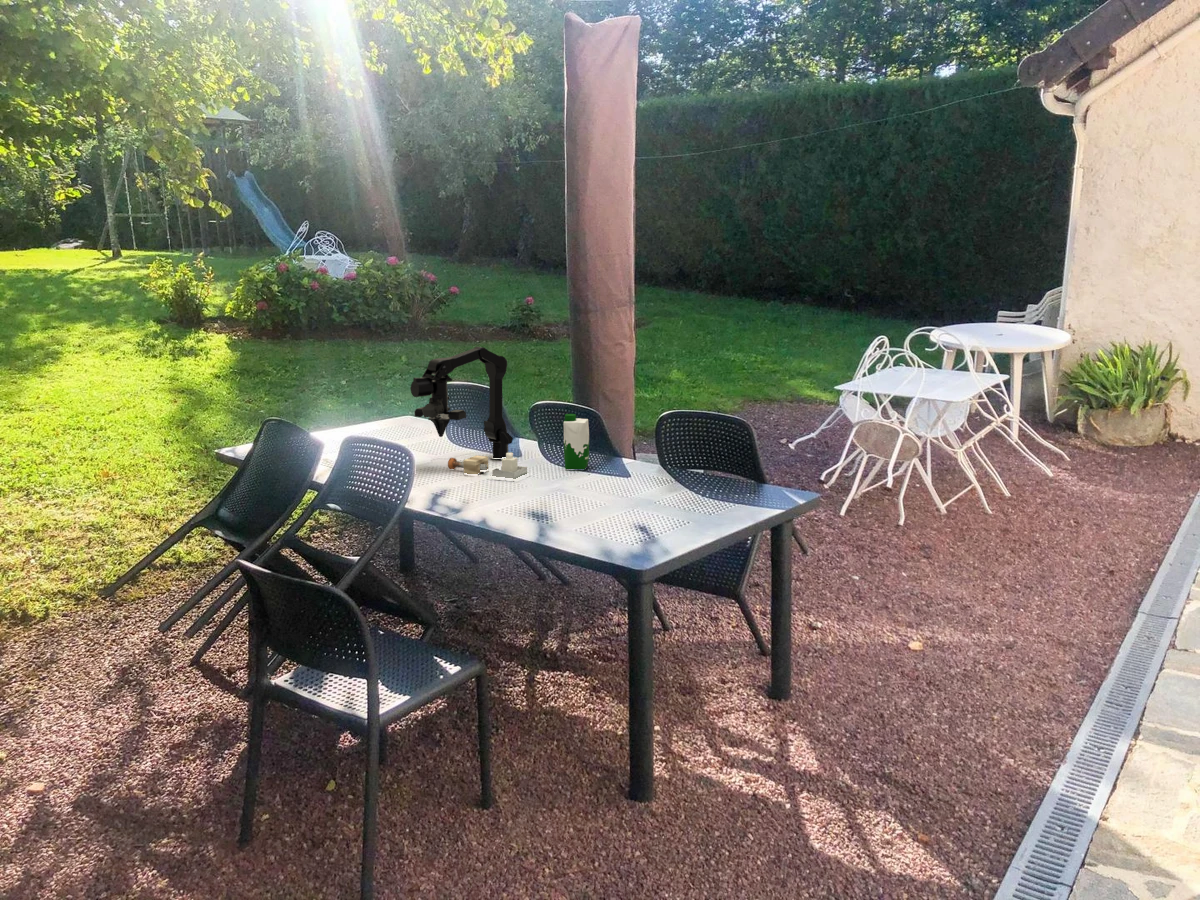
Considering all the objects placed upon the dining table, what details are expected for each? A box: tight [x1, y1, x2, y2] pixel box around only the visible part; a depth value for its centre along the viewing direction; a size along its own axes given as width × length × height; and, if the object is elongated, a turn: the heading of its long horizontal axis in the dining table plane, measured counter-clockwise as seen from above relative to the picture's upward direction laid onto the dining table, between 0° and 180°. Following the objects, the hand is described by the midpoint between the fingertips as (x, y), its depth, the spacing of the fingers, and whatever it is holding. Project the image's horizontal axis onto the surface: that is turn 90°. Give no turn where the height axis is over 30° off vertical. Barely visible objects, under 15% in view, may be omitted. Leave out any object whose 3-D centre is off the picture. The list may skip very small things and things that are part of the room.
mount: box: [462, 455, 489, 474], centre depth 342 cm, size 9×5×5 cm, turn 155°
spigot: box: [501, 451, 519, 472], centre depth 336 cm, size 4×4×8 cm
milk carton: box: [563, 413, 590, 470], centre depth 346 cm, size 9×9×20 cm
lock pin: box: [447, 457, 487, 470], centre depth 343 cm, size 4×15×4 cm, turn 65°
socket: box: [491, 465, 528, 479], centre depth 336 cm, size 12×12×3 cm
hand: (440, 436), depth 345 cm, fingers closed
